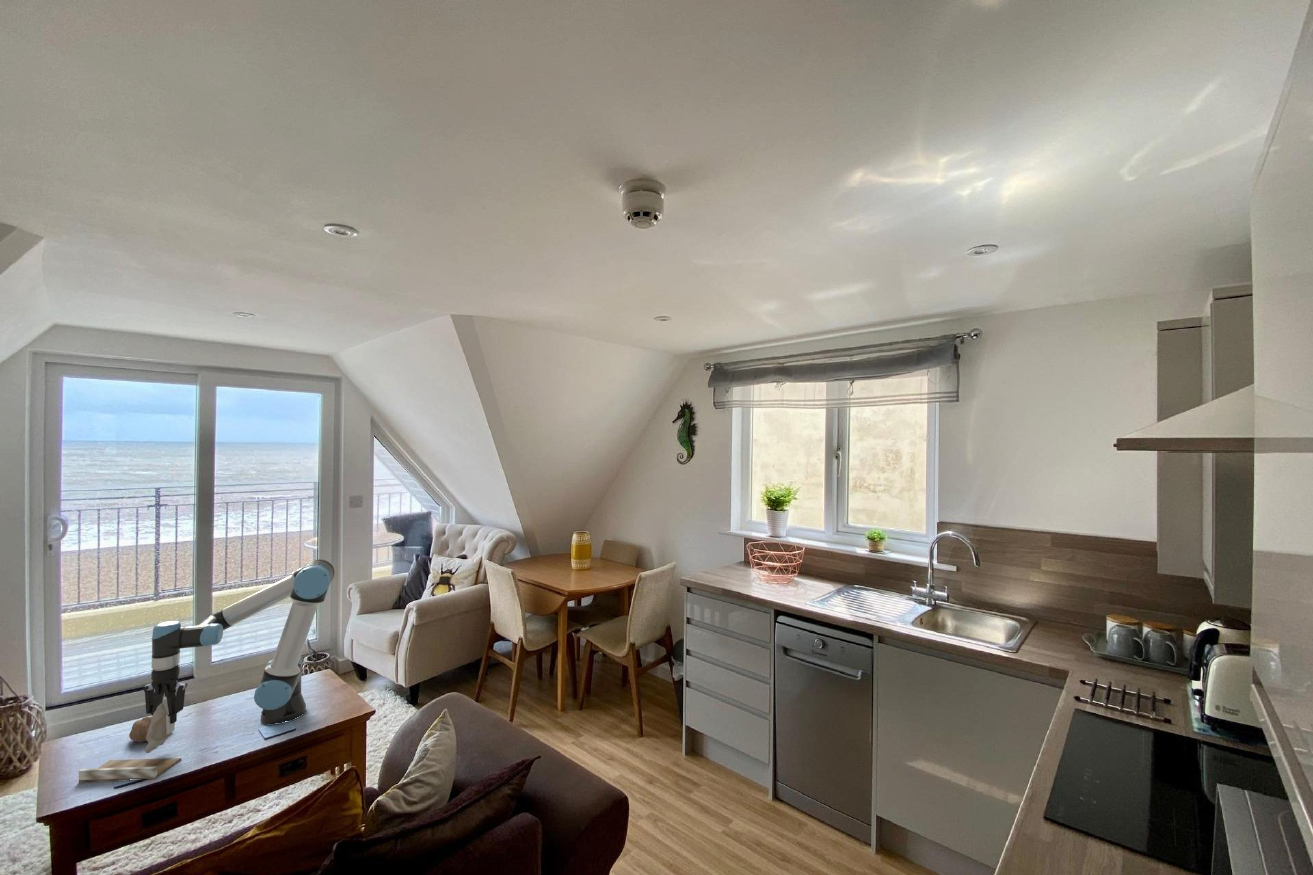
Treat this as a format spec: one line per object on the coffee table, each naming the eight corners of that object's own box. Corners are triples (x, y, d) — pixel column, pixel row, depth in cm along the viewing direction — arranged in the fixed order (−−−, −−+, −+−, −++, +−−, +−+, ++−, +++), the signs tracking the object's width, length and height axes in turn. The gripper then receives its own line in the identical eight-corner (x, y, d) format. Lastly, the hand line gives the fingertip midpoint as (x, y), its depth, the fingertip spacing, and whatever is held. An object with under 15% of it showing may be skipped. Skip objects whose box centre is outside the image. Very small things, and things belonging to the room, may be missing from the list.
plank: (181, 762, 189) (181, 749, 189) (154, 782, 178) (154, 768, 178) (110, 764, 187) (110, 751, 187) (78, 784, 176) (78, 770, 176)
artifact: (149, 754, 187) (152, 708, 189) (141, 754, 187) (143, 708, 189) (175, 742, 196) (177, 698, 198) (167, 742, 197) (169, 698, 198)
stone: (130, 753, 197) (146, 731, 197) (116, 734, 199) (132, 713, 199) (166, 739, 209) (182, 718, 209) (152, 722, 211) (168, 701, 211)
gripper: (198, 661, 199) (196, 726, 199) (150, 662, 198) (148, 727, 198) (181, 670, 191) (180, 737, 191) (132, 671, 190) (130, 738, 190)
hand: (164, 732), depth 194 cm, fingers closed on artifact, 3 cm apart
